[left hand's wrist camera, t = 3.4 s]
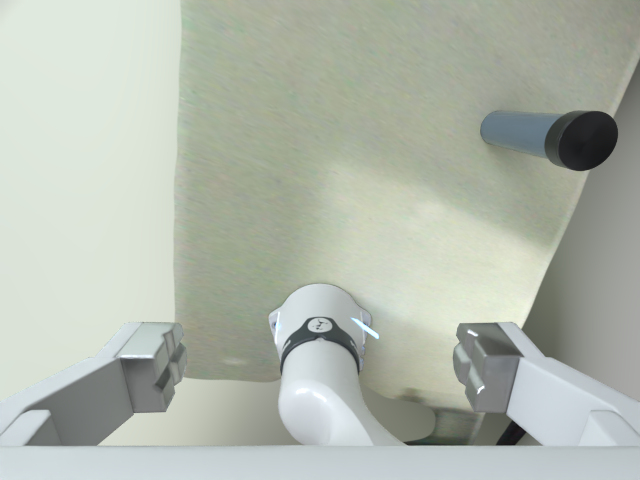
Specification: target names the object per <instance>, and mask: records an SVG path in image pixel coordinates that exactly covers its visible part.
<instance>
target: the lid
mask: <svg viewBox="0 0 640 480" xmlns="http://www.w3.org/2000/svg"><path fill="white" fill-rule="evenodd" d="M617 138H618V129H617V125H616V123H615V121H614V119H613V118H612V117H611V116H610V115H608V114H606V113H604V112H600V111H572V112H569V113H567V114H565V115H563V116H561V117H560V118H559V119H557V120H556V121H555V122H554V123H553V125H552V126H551V127H550V129H549V130H548V132H547V135H546V138H545V143H544V149H545V153H546V156H547V158H548V159H549V160H550V161H551V162H552V163H553V164H555V165H557V166H560V167H564V168H567V169H571V170H575V171H585V170H589V169H592V168H594V167H596V166H598V165H600V164H601V163H603V162H604V161H605V160H606V159H607V158H608V157H609V156H610V154H611V153H612V151H613V149H614V148H615V145H616V142H617Z"/></svg>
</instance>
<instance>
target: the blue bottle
mask: <svg viewBox="0 0 640 480" xmlns="http://www.w3.org/2000/svg"><path fill="white" fill-rule="evenodd" d="M563 115H565V114H553V113H534V112H516V111H495V112H492V113H491V114H489V115H488V116H487V117H486V118H485V119H484V121H483V122H482V125H481V136H482V138H483V140H484V141H485V142H486V143H488V144H491V145H495V146H499V147H502V148H506V149H510V150H514V151H518V152H522V153H526V154H530V155H534V156H538V157H542V158H546V159H548V158H547V156H546V153H545V149H544V143H545V138H546V135H547V132H548V130H549V129H550V127H551V126H552V125H553V123H554V122H555V121H556V120H557V119H559V118H560V117H561V116H563Z"/></svg>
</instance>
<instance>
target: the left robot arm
mask: <svg viewBox="0 0 640 480" xmlns="http://www.w3.org/2000/svg"><path fill="white" fill-rule="evenodd" d="M275 323H276V324H275ZM363 323H365V324H363ZM269 324H270V327H271V330H272V334H273V337H274V341H275V344H276V348H277V351H278V354H279V358H280V363H281V365H280V371H281V376H282V378H281V385H280V393H279V400H278V410H279V415H280V418H281V420H282V422H283V424H284V425H285V427H286V429H287V430H288V431H289V433H290V434H291V435H292V436H293V437H294V438H295V439H296V440H297V441H299V442H300V443H302V444H303V445H258V446H97V445H98V444H99V443H100V442H102V441H103V440H104V439H105V438H106V437H108V436H109V435H110V434H111V433H112V432H113V431H115V430H116V429H117V428H118V427H119V426H121V425H122V424H123V423H124V422H125V421H127V420H128V419H129V418H130V417H131V416H133V415H134V413H150V412H166V410H167V408H168V406H169V404H170V402H171V400H172V398H173V396H174V394H175V390H174V386H175V385H176V384H178V383H179V382H181V380H182V378H183V376H184V374H185V370H186V365H187V352H186V348H185V347H184V346H183V345H182V344H181V343H180V341H181V339H182V338H183V336H184V334H183V329H182V325H181V324H179V323H161V322H128V323H125V324H124V325H123V326H122V327H121V328H120V329H119V330H118V331H117V332H116V334H115V335H114V336H113V337H112V338H111V339H110V340H109V341H108V343H107V344H106V345H105V346H104V347H103V348H102V349H101V350H100V352H99V353H98V354H97V355H96V356H95V357H91V358H87V359H85V360H83V361H81V362H79V363H77V364H75V365H72V366H70V367H68V368H67V369H64V370H62V371H60V372H58V373H56V374H54V375H52V376H50V377H48V378H46V379H44V380H42V381H40V382H38V383H36V384H34V385H32V386H30V387H28V388H26V389H24V390H22V391H20V392H18V393H16V394H14V395H12V396H10V397H8V398H6V399H4V400H2V401H0V480H640V401H638V400H636V399H634V398H632V397H630V396H628V395H626V394H624V393H622V392H620V391H618V390H616V389H614V388H612V387H609V386H608V385H606V384H604V383H602V382H600V381H598V380H596V379H594V378H591V377H590V376H588V375H586V374H583V373H581V372H579V371H578V370H575V369H573V368H571V367H569V366H567V365H565V364H563V363H561V362H559V361H557V360H555V359H553V358H551V357H545V356H544V355H543V354H542V353H541V352H540V350H539V349H538V348H537V347H536V346H535V345H534V344H533V343H532V341H531V340H530V339H529V338H528V337H527V336H526V335H525V334H524V332H523V331H522V330H521V329H520V328H519V327H518V326H517V325H516V324H515V323H513V322H494V323H460V324H459V326H458V328H457V334H456V336H457V338H458V339H459V341H460V343H459V344H458V345H457V346H456V347H455V348H454V353H453V365H454V370H455V374H456V376H457V378H458V380H459V382H461V383H462V384H464V385H465V386H466V390H465V394H466V396H467V398H468V400H469V402H470V404H471V406H472V408H473V410H474V412H490V413H506V415H508V416H509V417H510V418H511V419H512V420H513V421H515V422H516V423H517V424H518V425H519V426H521V427H522V428H523V429H524V430H525V431H527V432H528V433H529V434H530V435H531V436H533V437H534V438H535V439H536V440H537V441H539V442H540V443H541V444H542V445H543V446H408V445H406V444H404V443H403V442H401V441H400V440H398V439H397V438H396V437H394V436H393V435H392V434H391V433H389V432H388V431H387V430H386V429H385V428H384V427H383V426H382V425H381V424H380V423H379V422H378V421H377V420H376V419H375V417H374V416H373V415H372V414H371V412H370V411H369V409H368V408H367V406H366V404H365V402H364V399H363V395H362V391H361V387H360V383H359V377H358V376H359V371H362V370H363V364H364V361H363V358H361V355H364V354H365V347H364V344H365V341H366V337H367V334H368V332H369V333H370V334H372V335H373V336H374V337H376V338H377V339H378V338H379V337H378V334H377V333H375V332H374V331H372V330H371V329H370V328H369V327H370V324H371V315H370V313H369V312H367V311H366V310H364V309H362V308H361V307H359V306H358V305H357V304H356V302H355V301H354V300H353V298H352V297H351V296H350V295H349V294H348V293H347V292H345V291H344V290H342V289H341V288H338V287H336V286H333V285H329V284H311V285H307V286H304V287H302V288H299V289H298V290H296V291H295V292H293V293H292V294H291V295H290V296H289V297H288V298H287V300H286V301H285V302H284V304H283V305H282V306H281V307H279V308H278V309H276V310H274V311H273V312H271V313H270V315H269Z"/></svg>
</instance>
